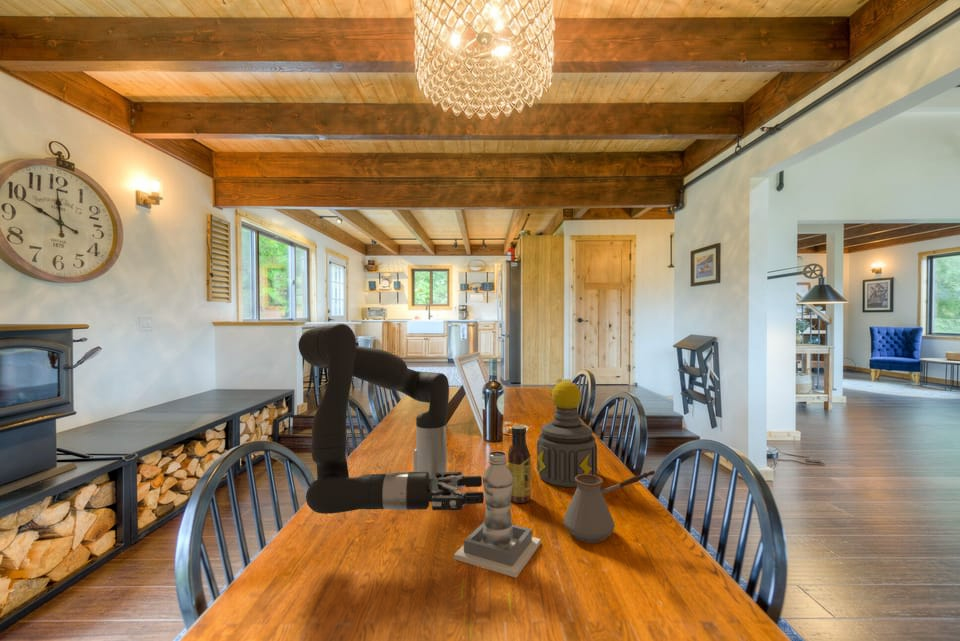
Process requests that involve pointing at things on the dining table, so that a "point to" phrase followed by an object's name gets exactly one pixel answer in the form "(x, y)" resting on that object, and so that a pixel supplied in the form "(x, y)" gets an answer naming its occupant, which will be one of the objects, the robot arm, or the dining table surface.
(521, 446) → the sauce bottle
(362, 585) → the dining table surface
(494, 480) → the plastic bottle
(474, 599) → the dining table surface
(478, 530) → the bottle holder
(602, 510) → the coffee pot
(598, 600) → the dining table surface
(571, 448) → the decorative lamp
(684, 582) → the dining table surface
